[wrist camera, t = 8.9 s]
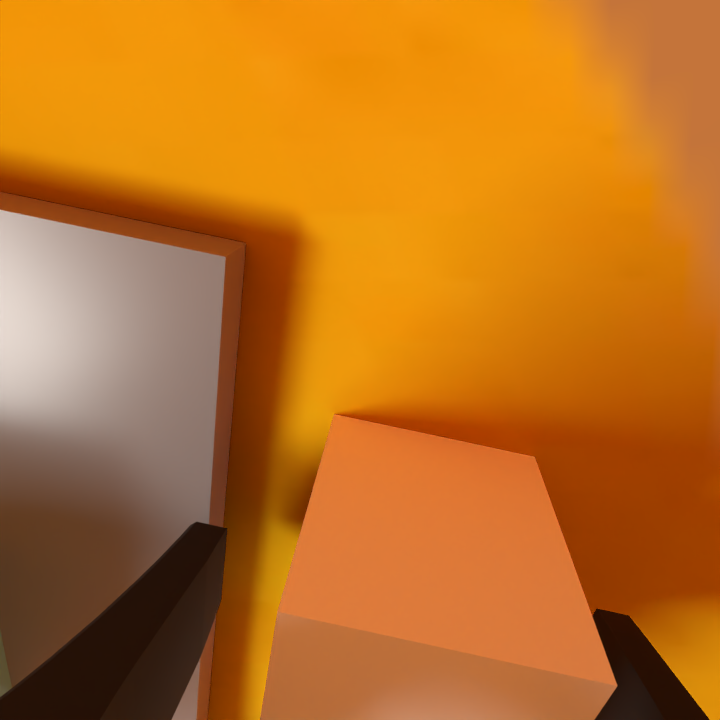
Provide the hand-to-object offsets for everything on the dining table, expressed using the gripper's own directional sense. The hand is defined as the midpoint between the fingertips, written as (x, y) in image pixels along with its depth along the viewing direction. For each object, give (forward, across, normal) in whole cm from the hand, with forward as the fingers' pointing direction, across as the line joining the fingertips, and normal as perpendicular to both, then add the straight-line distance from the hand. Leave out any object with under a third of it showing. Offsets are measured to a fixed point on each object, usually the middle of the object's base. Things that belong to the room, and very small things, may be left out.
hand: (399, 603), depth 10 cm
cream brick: (+2, 0, 0) cm, 2 cm away
